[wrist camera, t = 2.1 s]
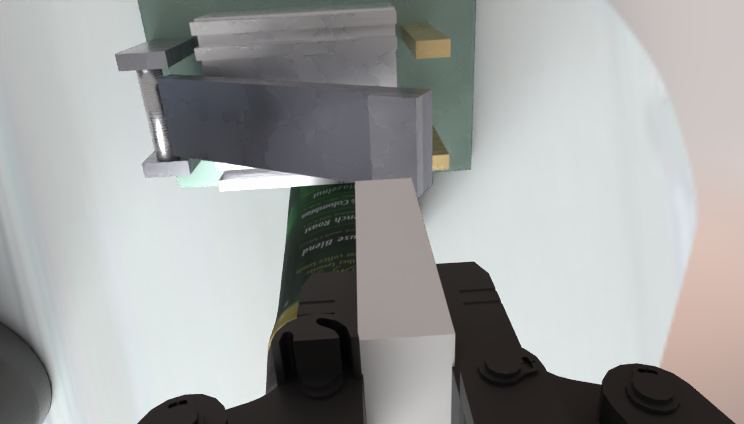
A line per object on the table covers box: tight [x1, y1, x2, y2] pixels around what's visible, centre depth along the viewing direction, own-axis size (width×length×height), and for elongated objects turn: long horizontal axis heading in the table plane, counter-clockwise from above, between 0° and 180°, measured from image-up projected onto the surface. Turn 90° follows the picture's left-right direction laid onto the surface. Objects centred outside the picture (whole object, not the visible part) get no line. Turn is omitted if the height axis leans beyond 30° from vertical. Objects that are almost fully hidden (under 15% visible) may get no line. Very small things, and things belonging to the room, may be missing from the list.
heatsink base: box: [115, 0, 476, 191], centre depth 29 cm, size 19×12×8 cm, turn 93°
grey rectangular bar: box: [157, 74, 432, 199], centre depth 24 cm, size 14×4×2 cm, turn 93°
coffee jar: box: [266, 183, 357, 394], centre depth 29 cm, size 10×8×19 cm
